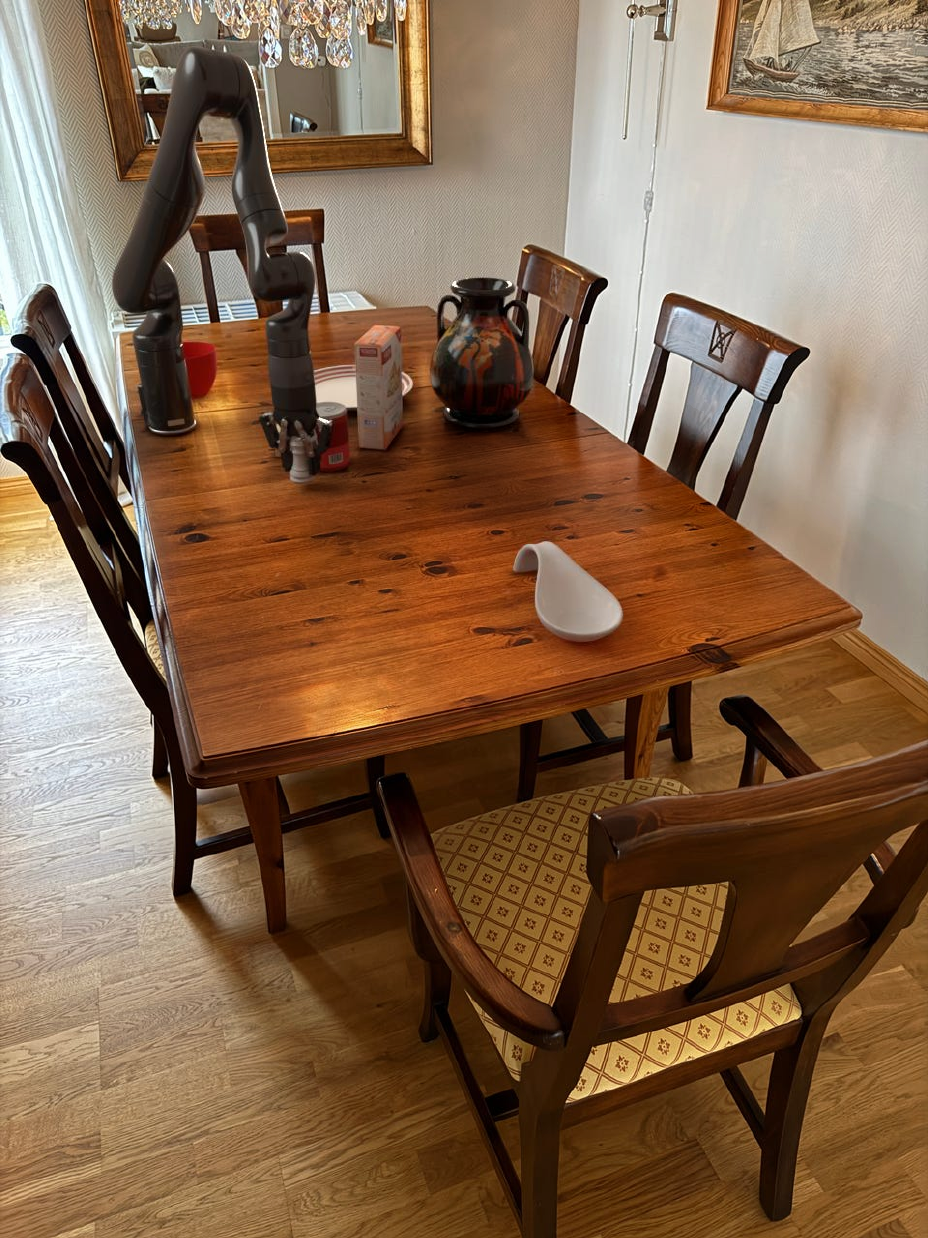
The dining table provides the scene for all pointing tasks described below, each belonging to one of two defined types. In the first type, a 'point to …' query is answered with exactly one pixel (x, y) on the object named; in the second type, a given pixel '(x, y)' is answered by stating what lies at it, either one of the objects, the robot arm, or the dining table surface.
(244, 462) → the dining table surface
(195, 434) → the dining table surface
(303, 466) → the rook chess piece
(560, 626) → the spoon rest
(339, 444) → the canned food
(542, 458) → the dining table surface
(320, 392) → the dinner plate
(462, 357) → the amphora vase
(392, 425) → the cracker box
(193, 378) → the ceramic cup
